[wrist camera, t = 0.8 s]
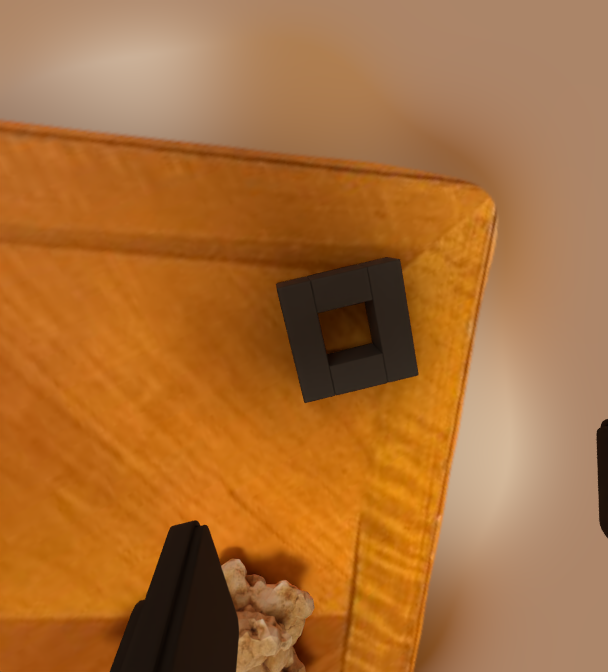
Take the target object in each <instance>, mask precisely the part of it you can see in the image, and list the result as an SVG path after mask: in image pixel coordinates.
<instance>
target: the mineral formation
mask: <svg viewBox="0 0 608 672" xmlns="http://www.w3.org/2000/svg"><path fill="white" fill-rule="evenodd" d="M221 567H222V570H223V573H224V576H225V579H226V582H227V585H228V588H229V592H230V595H231V598H232V601H233V604H234V607H235V610H236V613H237V616H238V622H239V642H238V655H237V668H236V672H306V670H305V666H304V664H303V663H302V662H301V661H300V660H299V659H298V657H297V655H296V652H295V650H294V648H293V647H292V646H293V645H294V644H295V642H296V641H297V639H298V637H299V636H300V635H301V633H302V630H303V627H304V623H305V618H307V617H308V616H310V615H311V614H312V612H313V610H314V602H313V598H312V597H311V596H310V594H309V593H308V592H305V591H302V590H299V589H298V588H297V587H296V586H295V585H291V584H290V583H289V582H288V581H287V580H281V581H279V582H278V583H277V584H266V581H265V579H264V578H263V577H261V576H259V575H256V574H253V575H246V573H247V571H246V568H245V566H244V565H243V563H242V562H241V561H240V560H239V559H230V560H229V561H227V562H226V563H225V564H223V565H222V566H221Z"/></svg>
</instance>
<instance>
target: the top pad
mask: <svg viewBox="0 0 608 672" xmlns="http://www.w3.org/2000/svg"><path fill="white" fill-rule="evenodd" d="M276 288H277V293H278V297H279V301H280V305H281V309H282V313H283V317H284V321H285V325H286V329H287V333H288V338H289V342H290V346H291V350H292V354H293V358H294V362H295V366H296V370H297V374H298V378H299V383H300V387H301V391H302V395H303V399H304V402H305V403H307V402H311V401H315V400H319V399H323V398H328V397H332V396H335V395H340V394H344V393H348V392H352V391H356V390H361V389H365V388H369V387H373V386H377V385H381V384H385V383H387V382H393V381H397V380H401V379H405V378H409V377H413V376H417V375H418V368H417V362H416V356H415V350H414V344H413V337H412V331H411V325H410V319H409V312H408V306H407V300H406V294H405V287H404V281H403V275H402V269H401V263H400V259H395V258H388V257H386V258H381V259H377V260H373V261H369V262H365V263H360V264H358V265H357V264H356V265H352V266H348V267H344V268H339V269H335V270H331V271H327V272H322V273H318V274H314V275H310V276H307V277H302V278H297V279H293V280H289V281H285V282H280V283H277V284H276ZM362 302H365V306H366V311H367V316H368V322H369V327H370V332H371V337H372V343H373V344H372V343H371V344H367V345H363V346H359V347H354V348H350V349H346V350H342V351H338V352H334V353H330V354H326V350H325V345H324V341H323V336H322V331H321V327H320V322H319V318H318V313H321V312H325V311H329V310H333V309H337V308H341V307H346V306H350V305H354V304H358V303H362ZM317 312H318V313H317Z"/></svg>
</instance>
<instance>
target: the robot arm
mask: <svg viewBox="0 0 608 672" xmlns="http://www.w3.org/2000/svg"><path fill="white" fill-rule="evenodd" d="M597 463H598V491H599V521H600V526H601V529H602V530H603V532H604V534H605V535H606V537H607V538H608V419H606V420H604V421H603V422H602V424H601V428H599V429H598V430H597ZM238 642H239V622H238V616H237V613H236V610H235V607H234V604H233V601H232V598H231V595H230V592H229V588H228V585H227V582H226V579H225V576H224V573H223V570H222V567H221V564H220V561H219V558H218V555H217V552H216V549H215V546H214V543H213V540H212V537H211V534H210V531H209V528H208V526H207V525H203V526H200V524H199V522H198V521H196V520H195V521H191V522H187V523H183V524H179V525H175V526H172V527H171V528H170V530H169V532H168V535H167V538H166V541H165V543H164V546H163V549H162V552H161V555H160V558H159V561H158V564H157V566H156V569H155V572H154V575H153V578H152V581H151V584H150V587H149V590H148V592H147V595H146V598H145V600H141V601H139V602H138V603H137V604H136V605H135V607H134V609H133V611H132V613H131V616H130V619H129V621H128V624H127V627H126V629H125V632H124V635H123V638H122V640H121V643H120V646H119V648H118V651H117V654H116V656H115V659H114V662H113V665H112V667H111V670H110V672H236V668H237V655H238Z"/></svg>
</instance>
